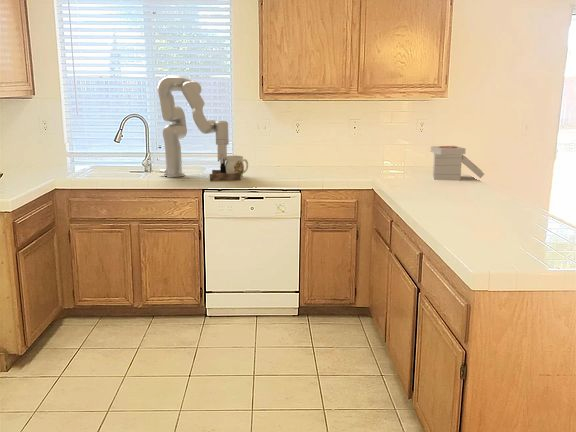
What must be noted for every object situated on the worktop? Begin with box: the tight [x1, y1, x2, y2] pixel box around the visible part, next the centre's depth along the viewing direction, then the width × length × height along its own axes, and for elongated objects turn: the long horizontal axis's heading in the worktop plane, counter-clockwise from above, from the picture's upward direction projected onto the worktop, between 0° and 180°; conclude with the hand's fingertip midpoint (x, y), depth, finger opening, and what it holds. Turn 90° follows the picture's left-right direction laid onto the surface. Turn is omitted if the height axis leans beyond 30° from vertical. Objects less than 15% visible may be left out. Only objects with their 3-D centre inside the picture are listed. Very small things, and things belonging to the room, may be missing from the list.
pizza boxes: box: [430, 145, 485, 181], centre depth 348 cm, size 19×30×18 cm, turn 79°
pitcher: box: [224, 155, 249, 178], centre depth 355 cm, size 11×18×14 cm, turn 133°
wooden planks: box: [209, 169, 242, 182], centre depth 356 cm, size 18×17×4 cm
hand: (223, 172), depth 356 cm, fingers closed
